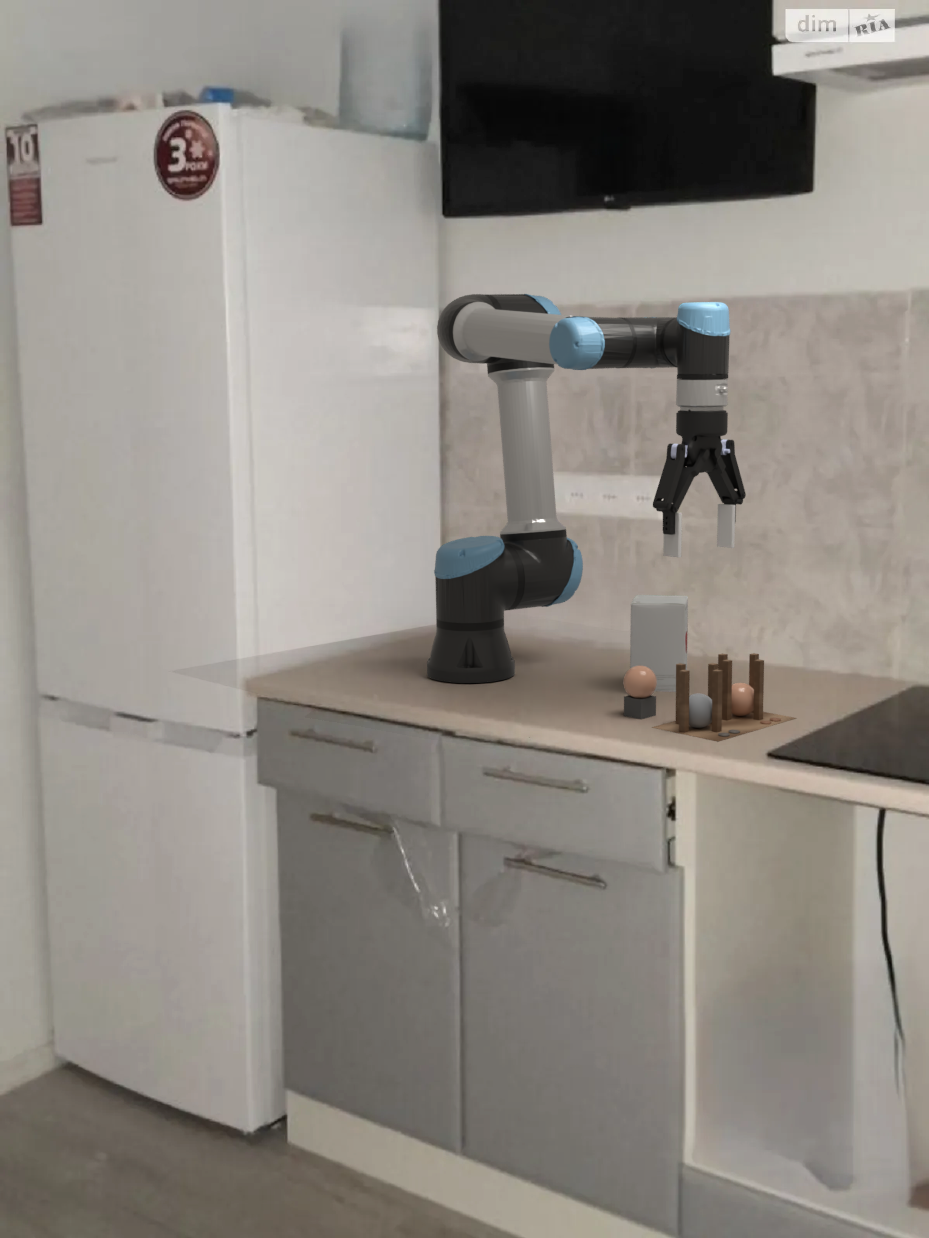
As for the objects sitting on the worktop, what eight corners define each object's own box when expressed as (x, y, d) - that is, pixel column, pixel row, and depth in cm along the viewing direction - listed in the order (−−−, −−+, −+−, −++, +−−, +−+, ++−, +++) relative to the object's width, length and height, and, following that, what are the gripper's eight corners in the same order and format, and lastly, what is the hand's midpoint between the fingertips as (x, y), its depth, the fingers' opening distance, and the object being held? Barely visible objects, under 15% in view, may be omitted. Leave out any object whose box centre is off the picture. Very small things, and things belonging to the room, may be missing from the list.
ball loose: (616, 698, 228) (616, 665, 227) (637, 693, 232) (638, 661, 231) (642, 703, 225) (642, 670, 224) (663, 698, 228) (663, 665, 227)
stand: (623, 719, 229) (623, 696, 228) (638, 715, 231) (638, 692, 230) (641, 723, 226) (641, 700, 226) (655, 719, 229) (656, 696, 228)
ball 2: (716, 715, 227) (716, 683, 227) (736, 710, 231) (736, 677, 230) (743, 721, 224) (744, 688, 223) (763, 715, 227) (764, 682, 226)
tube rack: (651, 731, 221) (651, 667, 220) (731, 709, 234) (731, 648, 232) (718, 745, 213) (719, 679, 211) (796, 722, 225) (798, 659, 224)
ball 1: (673, 727, 221) (674, 693, 220) (695, 721, 224) (695, 688, 223) (701, 733, 217) (701, 699, 216) (722, 727, 220) (723, 693, 220)
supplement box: (685, 695, 244) (686, 603, 241) (629, 694, 246) (629, 602, 243) (688, 683, 253) (689, 594, 250) (634, 682, 254) (634, 593, 252)
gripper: (671, 412, 213) (669, 562, 217) (770, 406, 231) (767, 545, 234) (629, 411, 218) (628, 558, 222) (729, 405, 236) (726, 541, 240)
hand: (699, 551), depth 228 cm, fingers open, 13 cm apart
